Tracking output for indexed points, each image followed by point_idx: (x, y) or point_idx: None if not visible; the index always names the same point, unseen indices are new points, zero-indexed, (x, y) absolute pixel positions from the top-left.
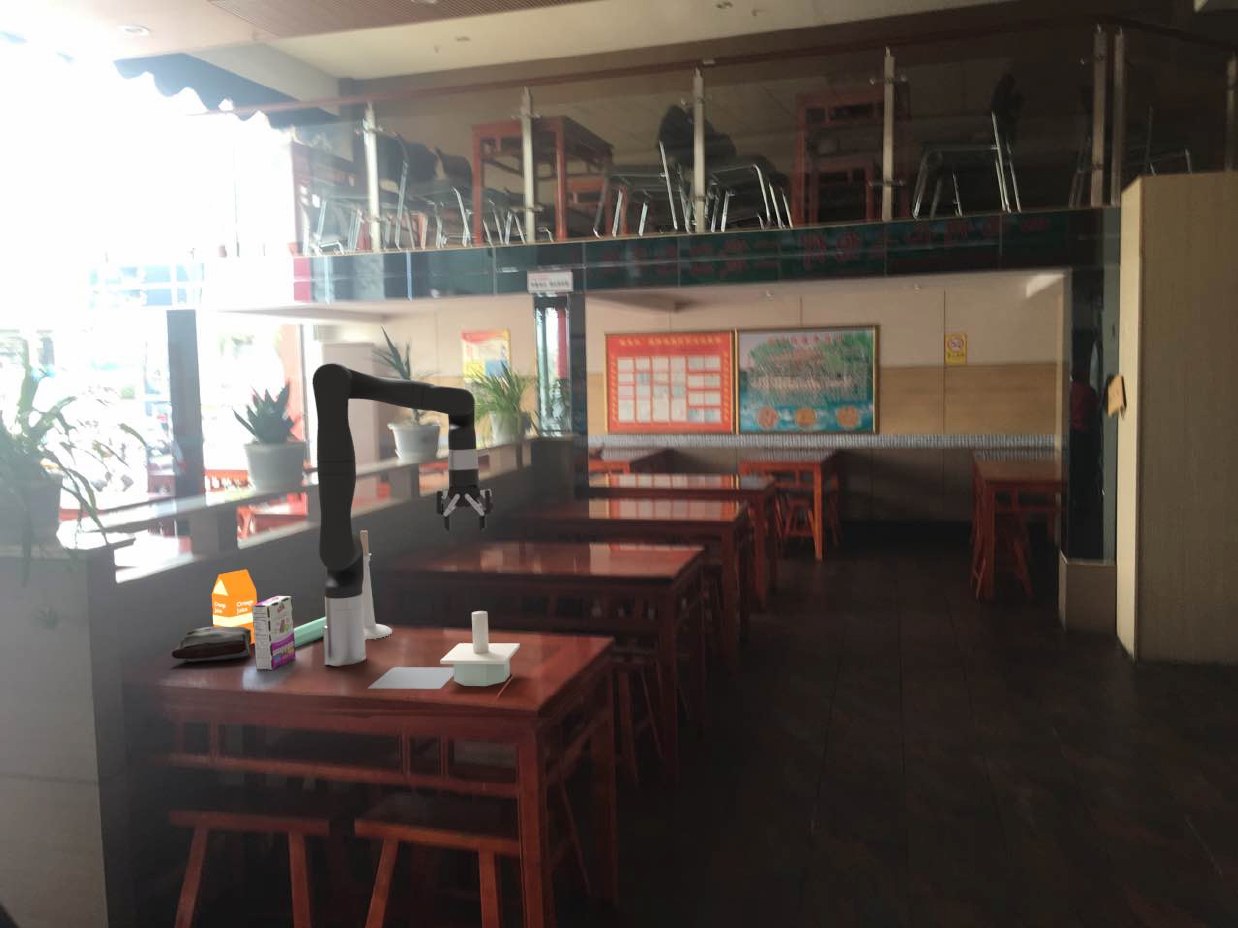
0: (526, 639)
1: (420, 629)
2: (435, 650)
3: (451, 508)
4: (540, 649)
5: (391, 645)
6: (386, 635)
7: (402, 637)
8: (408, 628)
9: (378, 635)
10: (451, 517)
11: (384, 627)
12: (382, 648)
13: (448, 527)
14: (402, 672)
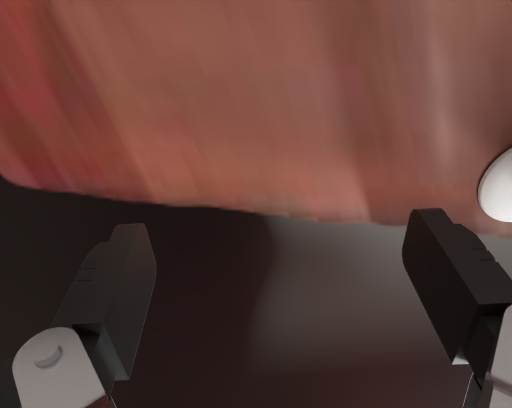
0: (169, 165)
1: None
2: (354, 59)
3: (501, 394)
4: (97, 86)
5: (471, 97)
6: (489, 169)
7: (451, 163)
8: None
9: (509, 156)
10: (443, 344)
11: (501, 194)
12: (491, 68)
13: (434, 221)
14: None
